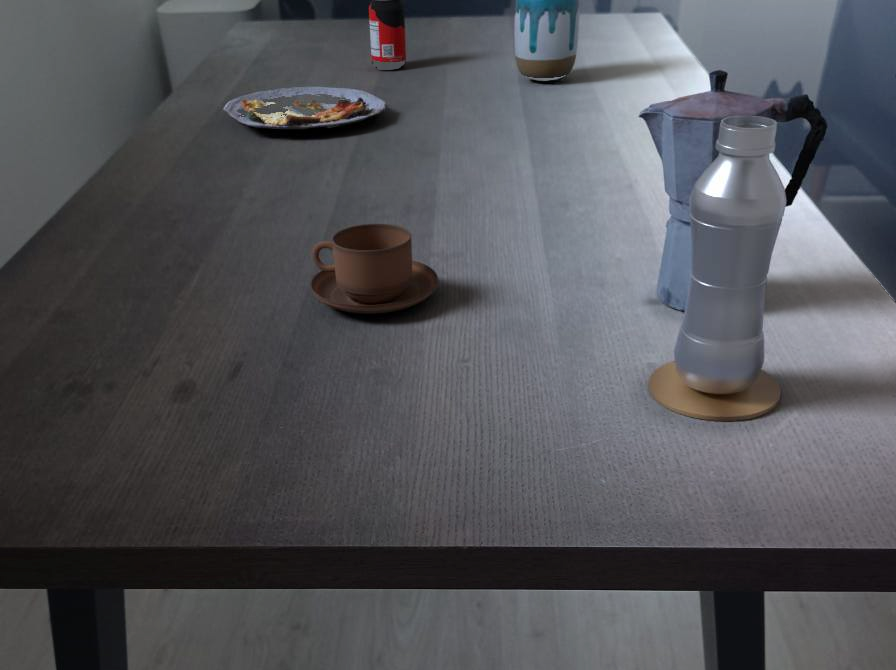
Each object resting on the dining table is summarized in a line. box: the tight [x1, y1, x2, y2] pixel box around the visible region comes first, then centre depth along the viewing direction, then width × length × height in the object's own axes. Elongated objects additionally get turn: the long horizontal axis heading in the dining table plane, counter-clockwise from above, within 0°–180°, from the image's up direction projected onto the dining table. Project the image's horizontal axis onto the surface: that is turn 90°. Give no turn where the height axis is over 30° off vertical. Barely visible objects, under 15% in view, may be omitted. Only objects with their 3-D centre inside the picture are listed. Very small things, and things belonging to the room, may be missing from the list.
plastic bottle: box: [673, 116, 787, 394], centre depth 76 cm, size 6×7×20 cm
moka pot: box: [638, 69, 828, 312], centre depth 91 cm, size 10×15×20 cm, turn 78°
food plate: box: [222, 86, 388, 130], centre depth 158 cm, size 25×23×4 cm
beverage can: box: [368, 0, 407, 62], centre depth 187 cm, size 6×6×12 cm
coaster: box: [648, 360, 782, 422], centre depth 81 cm, size 10×10×1 cm
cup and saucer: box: [310, 223, 439, 315], centre depth 97 cm, size 12×12×6 cm
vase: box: [513, 0, 580, 83], centre depth 171 cm, size 11×11×19 cm
